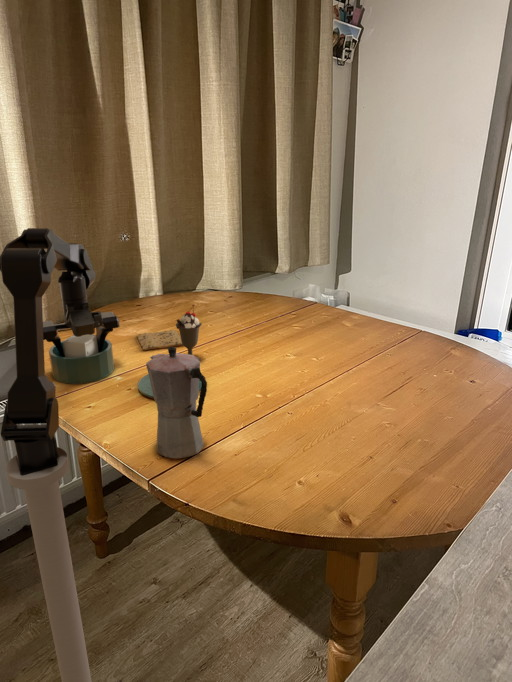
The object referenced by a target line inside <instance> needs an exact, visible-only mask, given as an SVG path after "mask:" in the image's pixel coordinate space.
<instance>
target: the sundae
mask: <svg viewBox="0 0 512 682" xmlns="http://www.w3.org/2000/svg"><path fill="white" fill-rule="evenodd" d="M195 306H196V304H192V305H191V308H190V309H189V310H187V311H186V312H185V313H184V314H183V315H182V316H181V317H180V319H179V318H178V319H176V324H175V327H176V329H177V330H178V331H179V336H180V337H181V341H182V345H181V346H183V347H184V348H186V349H187V354H188V355H194V354H193V349H194V348H195V347H196V346H197V344H198V340H199V333H200V332H199V331H200V327H202V323H201V322H200V320H199V318H198V317H196V316H197V315H196V313H195V310H194V309H195ZM191 311H192V312H191ZM194 356H195V355H194ZM195 357H196V358H197V359H198V360H199V362H201V361H200V360H201V359H200V357H198V356H195Z"/></svg>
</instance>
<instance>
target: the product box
mask: <svg viewBox="0 0 512 682" xmlns="http://www.w3.org/2000/svg"><path fill="white" fill-rule="evenodd" d="M62 341H63V349H64V355H65V357H66V358H79V357H86V356H91V355H95V354H98V353H99V352H98V343H97V335H96V334H92V335H89V334H88V335H82V336H80V337H76V336H74V335H73V334H72V335H70V336H68V337H67V338H66V339H64V340H62Z"/></svg>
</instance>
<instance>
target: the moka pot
mask: <svg viewBox="0 0 512 682" xmlns="http://www.w3.org/2000/svg"><path fill="white" fill-rule="evenodd" d="M167 351H168V353H167V354H166V353H157V354H154V355H153V354H152V355H151V356H149V358H150V360H148V361H146V363H145V364H146V370H147V374H149V378H150V383H151V387H152V392H153V396H154V398H153V400H154V402H155V404H156V411H157V427H156V451H157V453H158V454H159V455H160V456H163V457H164V458H167V459H184V458H188V457H192V456H196V455H197V454H199V453H200V452H201V451H202V450H203V447H204V445H205V443H204V439H203V434H202V430H201V426H200V425H201V424H200V420H199V419H200V418H201V417H202V416H203V409H204V404H205V399H206V396H207V392H208V382H207V380H206V377H205V376H204V375H203V374H202V371H201V361H199V360H198V359H197V358H196V357H197V356H196V357H195V355H194V354H193V355H188V353H187V354H186V353H180V352H177V347H176V346H172V347H167ZM199 380H200V381H201V383H202V385H201V390H200V391H199ZM198 391H199V392H198ZM197 400H198V402H197ZM197 404H198V405H197Z"/></svg>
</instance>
